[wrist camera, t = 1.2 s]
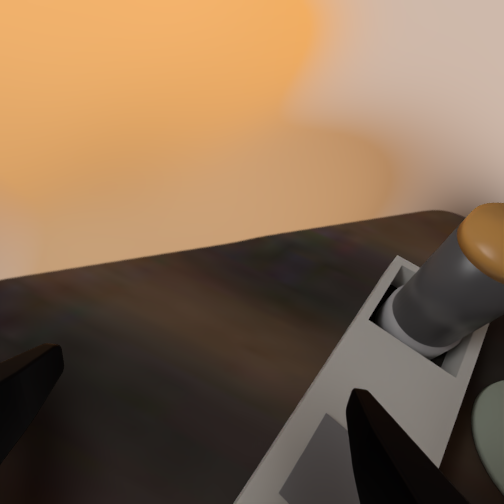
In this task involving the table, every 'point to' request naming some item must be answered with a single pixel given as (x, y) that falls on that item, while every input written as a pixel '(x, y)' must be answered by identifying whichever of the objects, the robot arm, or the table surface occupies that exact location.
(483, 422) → the rubber mat
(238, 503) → the power strip
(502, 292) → the plug
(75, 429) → the table surface
